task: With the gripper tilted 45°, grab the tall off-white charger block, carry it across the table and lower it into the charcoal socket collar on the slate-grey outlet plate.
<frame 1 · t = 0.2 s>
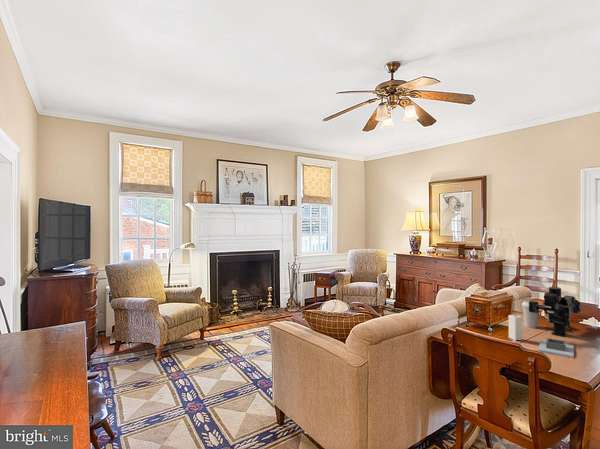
hand: (543, 312, 185), 17 cm above the table, tool horizontal, fingers open, 9 cm apart
charger: (515, 339, 192), on the table
outlet: (555, 349, 177), on the table
handheld radio: (559, 326, 217), on the table
coffee cup: (530, 326, 216), on the table
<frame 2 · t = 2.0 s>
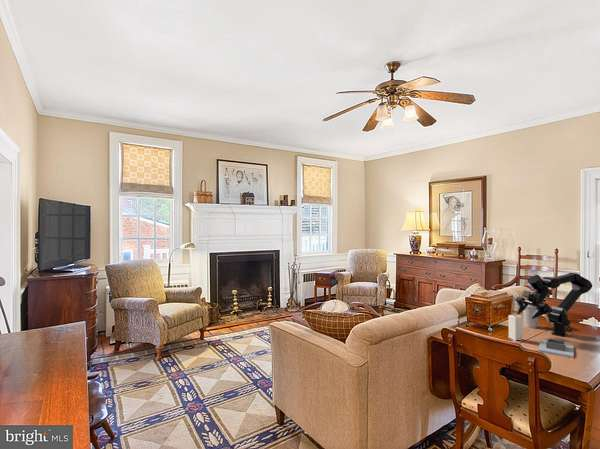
hand: (524, 316, 194), 12 cm above the table, tool tilted 45°, fingers open, 9 cm apart
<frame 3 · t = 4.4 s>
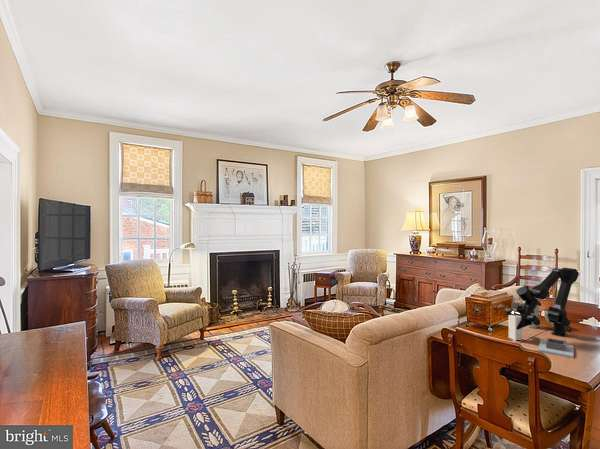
hand: (513, 327, 192), 7 cm above the table, tool tilted 45°, fingers closed on charger, 4 cm apart
charger: (515, 339, 192), on the table, touching gripper
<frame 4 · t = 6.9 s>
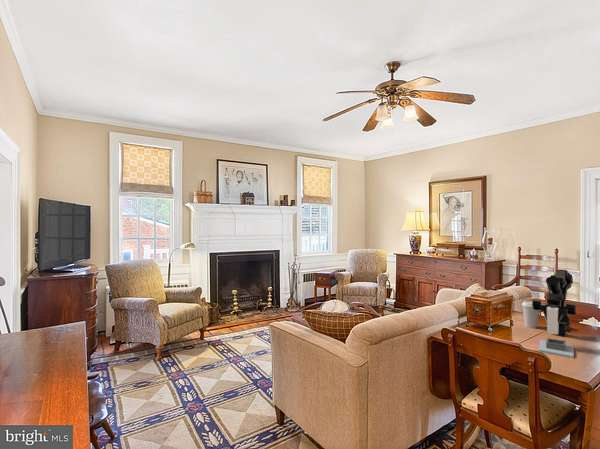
hand: (552, 320, 181), 13 cm above the table, tool tilted 45°, fingers closed on charger, 4 cm apart
charger: (552, 332, 182), point 7 cm above the table, touching gripper
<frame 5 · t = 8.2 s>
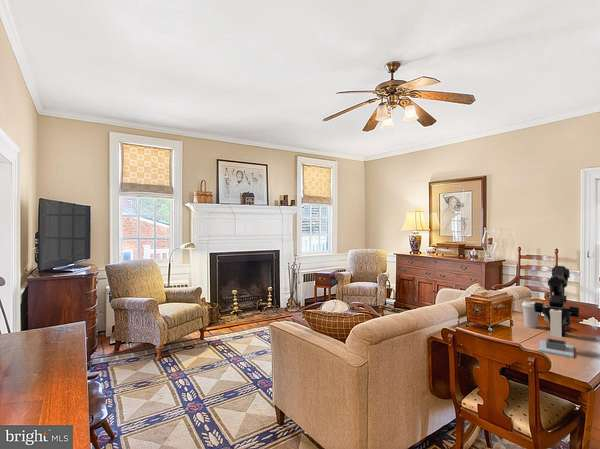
hand: (555, 323, 176), 13 cm above the table, tool tilted 45°, fingers closed on charger, 4 cm apart
charger: (555, 335, 177), point 7 cm above the table, touching gripper
when the fingers open (9 cm above the table, at t = 9.5 s): charger drops 1 cm, resting on outlet.
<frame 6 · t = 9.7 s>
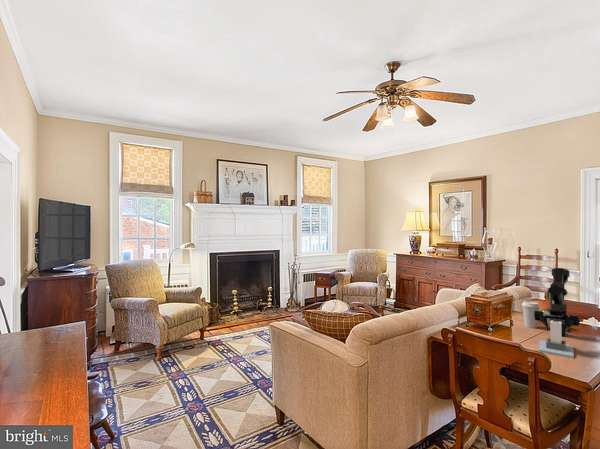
hand: (555, 332, 176), 9 cm above the table, tool tilted 45°, fingers open, 6 cm apart
charger: (556, 347, 177), point 1 cm above the table, touching outlet
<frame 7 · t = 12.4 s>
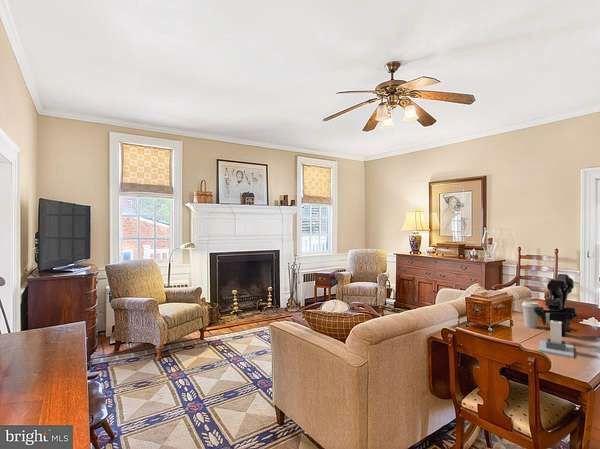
hand: (554, 326, 185), 10 cm above the table, tool tilted 40°, fingers open, 9 cm apart
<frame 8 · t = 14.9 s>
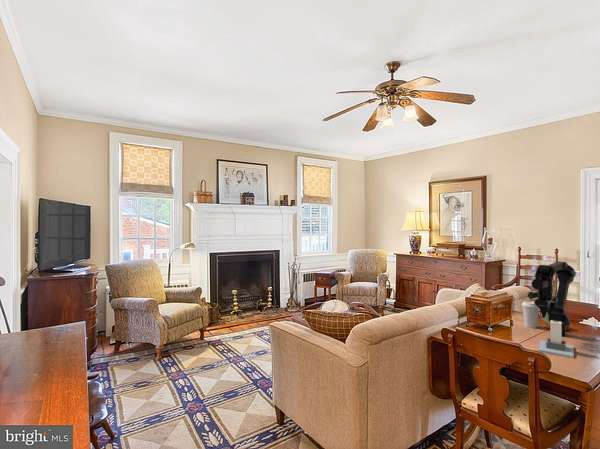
hand: (546, 316, 192), 13 cm above the table, tool pointing down, fingers open, 9 cm apart
at the end: charger 0.0 cm off-centre on the outlet, point 1.0 cm above the outlet's base; charger tilted 0°; the gripper is holding nothing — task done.
